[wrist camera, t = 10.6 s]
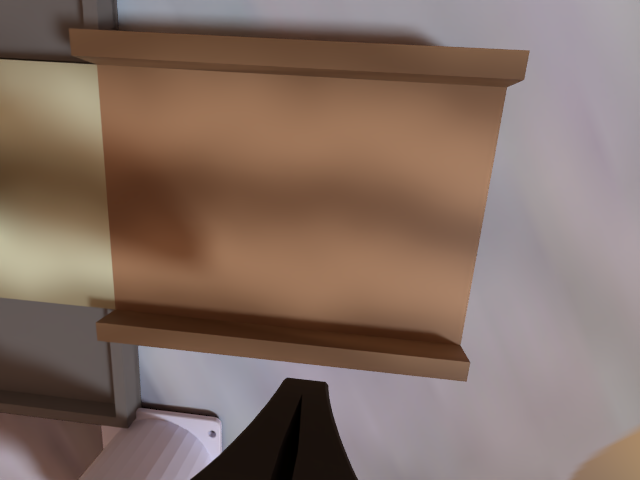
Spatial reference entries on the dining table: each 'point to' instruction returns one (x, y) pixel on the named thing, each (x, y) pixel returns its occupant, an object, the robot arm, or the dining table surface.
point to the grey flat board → (52, 318)
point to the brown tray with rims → (255, 193)
